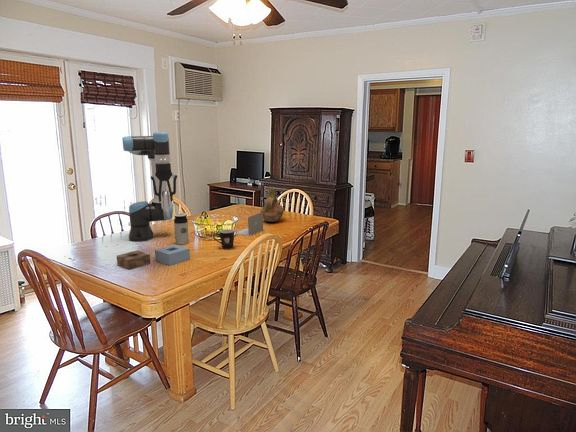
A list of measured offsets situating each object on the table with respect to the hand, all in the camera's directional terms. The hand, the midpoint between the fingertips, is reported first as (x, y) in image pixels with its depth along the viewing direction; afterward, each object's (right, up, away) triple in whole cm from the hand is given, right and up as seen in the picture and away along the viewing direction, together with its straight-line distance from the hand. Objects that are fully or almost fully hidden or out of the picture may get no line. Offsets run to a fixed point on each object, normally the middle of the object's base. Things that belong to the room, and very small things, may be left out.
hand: (166, 207), depth 216 cm
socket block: (+2, -28, +7) cm, 29 cm away
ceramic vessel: (+52, -8, +93) cm, 107 cm away
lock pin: (0, -6, +1) cm, 6 cm away
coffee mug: (+27, -23, +28) cm, 45 cm away
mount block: (-17, -29, 0) cm, 34 cm away
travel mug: (-1, -21, +38) cm, 44 cm away
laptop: (+37, -15, +63) cm, 75 cm away
